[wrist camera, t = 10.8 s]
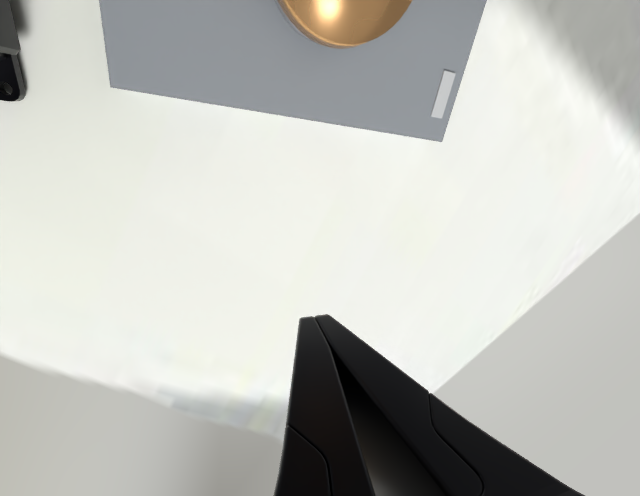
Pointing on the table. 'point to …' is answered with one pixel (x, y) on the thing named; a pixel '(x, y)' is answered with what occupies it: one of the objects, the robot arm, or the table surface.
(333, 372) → the robot arm
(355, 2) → the crank handle
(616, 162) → the table surface
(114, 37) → the base
